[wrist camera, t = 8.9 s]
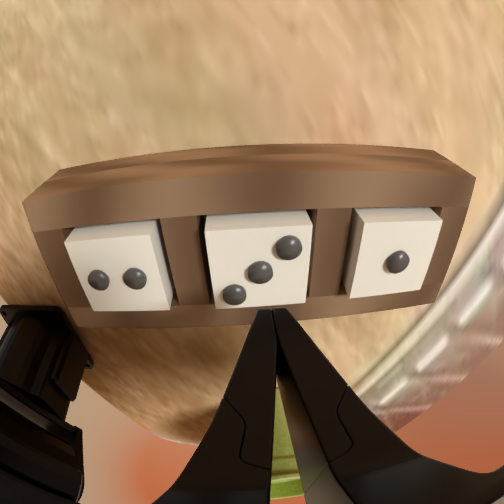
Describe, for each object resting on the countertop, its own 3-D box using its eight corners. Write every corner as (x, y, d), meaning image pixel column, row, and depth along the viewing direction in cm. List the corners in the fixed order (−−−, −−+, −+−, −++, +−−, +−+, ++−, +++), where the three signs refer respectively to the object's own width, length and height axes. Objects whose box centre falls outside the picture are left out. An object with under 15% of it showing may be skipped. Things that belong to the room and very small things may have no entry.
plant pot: (209, 380, 22) (208, 484, 15) (329, 368, 23) (353, 468, 15) (224, 424, 28) (226, 501, 21) (316, 416, 28) (330, 491, 21)
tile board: (97, 282, 16) (77, 327, 13) (59, 169, 12) (21, 202, 9) (407, 262, 17) (434, 302, 14) (433, 150, 13) (475, 177, 10)
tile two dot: (108, 276, 14) (92, 314, 12) (86, 212, 12) (61, 245, 10) (177, 273, 14) (169, 313, 12) (162, 203, 12) (148, 237, 10)
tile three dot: (217, 271, 14) (215, 312, 12) (208, 200, 12) (204, 234, 10) (295, 266, 14) (306, 306, 12) (298, 195, 12) (313, 228, 10)
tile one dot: (334, 264, 14) (350, 301, 12) (343, 194, 12) (366, 225, 10) (399, 258, 14) (422, 292, 12) (415, 194, 12) (445, 222, 10)
